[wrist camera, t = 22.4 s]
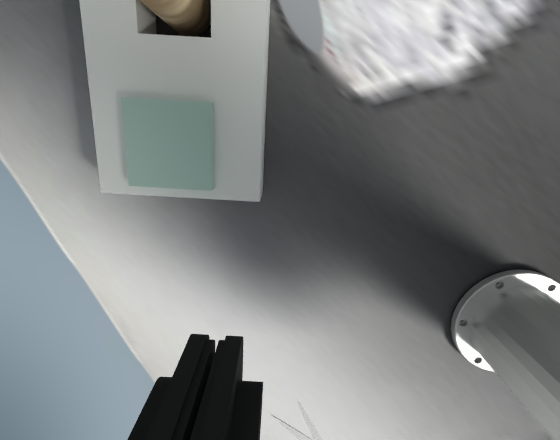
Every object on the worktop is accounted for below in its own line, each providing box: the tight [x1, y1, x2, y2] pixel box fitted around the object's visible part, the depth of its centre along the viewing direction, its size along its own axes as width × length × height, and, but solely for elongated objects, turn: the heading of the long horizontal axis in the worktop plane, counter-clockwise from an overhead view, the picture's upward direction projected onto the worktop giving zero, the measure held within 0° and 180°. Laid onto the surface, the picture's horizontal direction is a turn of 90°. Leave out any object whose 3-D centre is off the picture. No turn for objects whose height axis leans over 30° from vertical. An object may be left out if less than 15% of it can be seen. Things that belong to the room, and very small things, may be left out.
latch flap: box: [121, 97, 214, 191], centre depth 26 cm, size 7×7×1 cm
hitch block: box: [79, 0, 270, 202], centre depth 27 cm, size 14×20×4 cm
